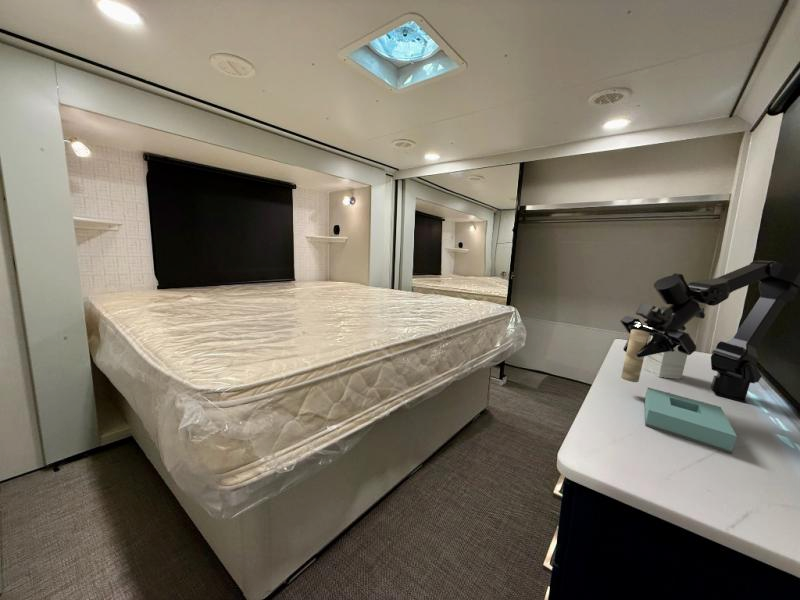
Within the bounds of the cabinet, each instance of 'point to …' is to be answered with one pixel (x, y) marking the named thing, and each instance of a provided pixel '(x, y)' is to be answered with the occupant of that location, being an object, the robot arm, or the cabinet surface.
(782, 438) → the cabinet surface
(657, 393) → the pin block
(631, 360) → the maple pin
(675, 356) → the supplement box
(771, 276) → the robot arm
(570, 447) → the cabinet surface
